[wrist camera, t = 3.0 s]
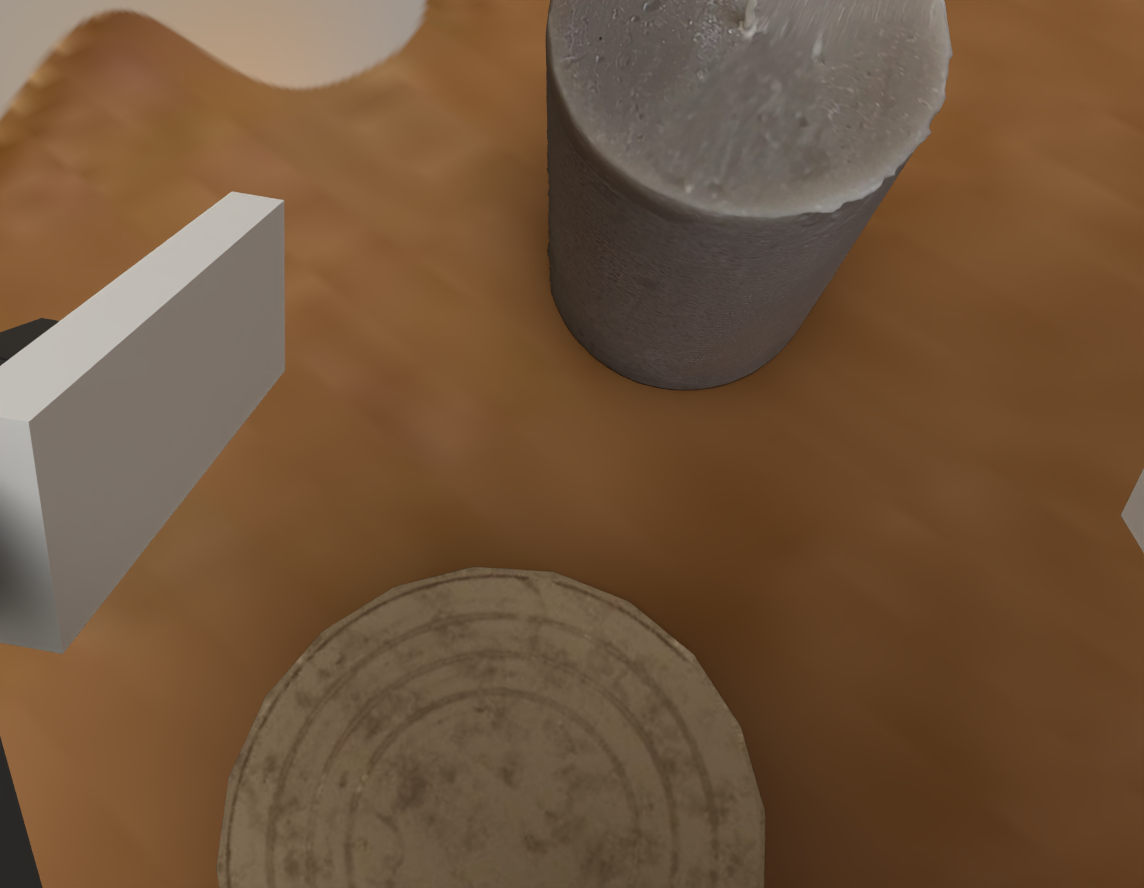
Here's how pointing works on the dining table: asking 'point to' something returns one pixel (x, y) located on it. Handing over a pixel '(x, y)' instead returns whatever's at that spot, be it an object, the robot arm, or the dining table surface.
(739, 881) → the wood log slice
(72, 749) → the dining table surface
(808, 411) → the dining table surface
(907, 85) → the pillar candle
